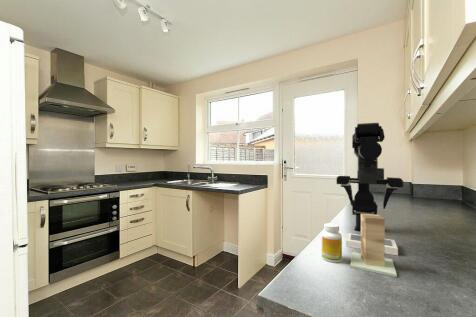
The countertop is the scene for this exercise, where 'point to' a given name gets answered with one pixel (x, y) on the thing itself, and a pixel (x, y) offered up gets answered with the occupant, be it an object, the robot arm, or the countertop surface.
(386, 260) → the mat
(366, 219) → the oak post
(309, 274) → the countertop surface
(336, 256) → the supplement bottle
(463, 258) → the countertop surface
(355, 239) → the label panel
